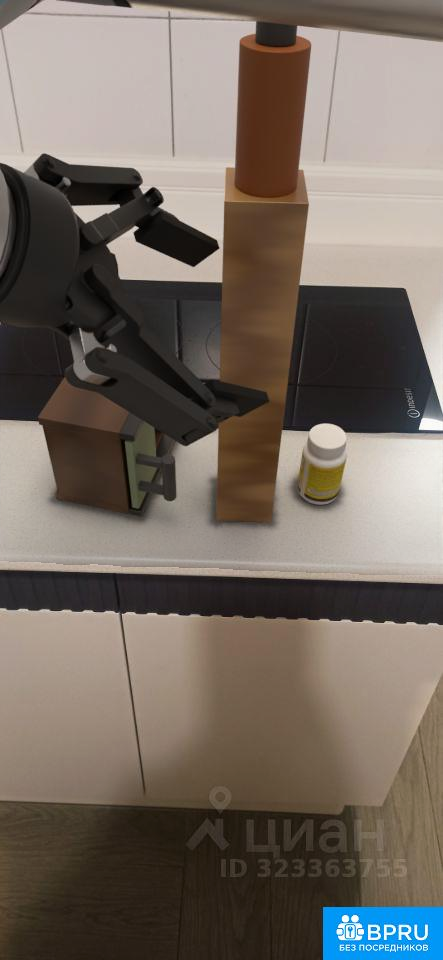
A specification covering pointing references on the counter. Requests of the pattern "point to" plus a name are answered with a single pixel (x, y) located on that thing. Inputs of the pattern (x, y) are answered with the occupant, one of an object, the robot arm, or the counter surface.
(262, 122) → the amber bottle
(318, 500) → the supplement bottle
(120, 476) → the cabinet
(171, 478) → the sliding door
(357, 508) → the counter surface
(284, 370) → the stand
